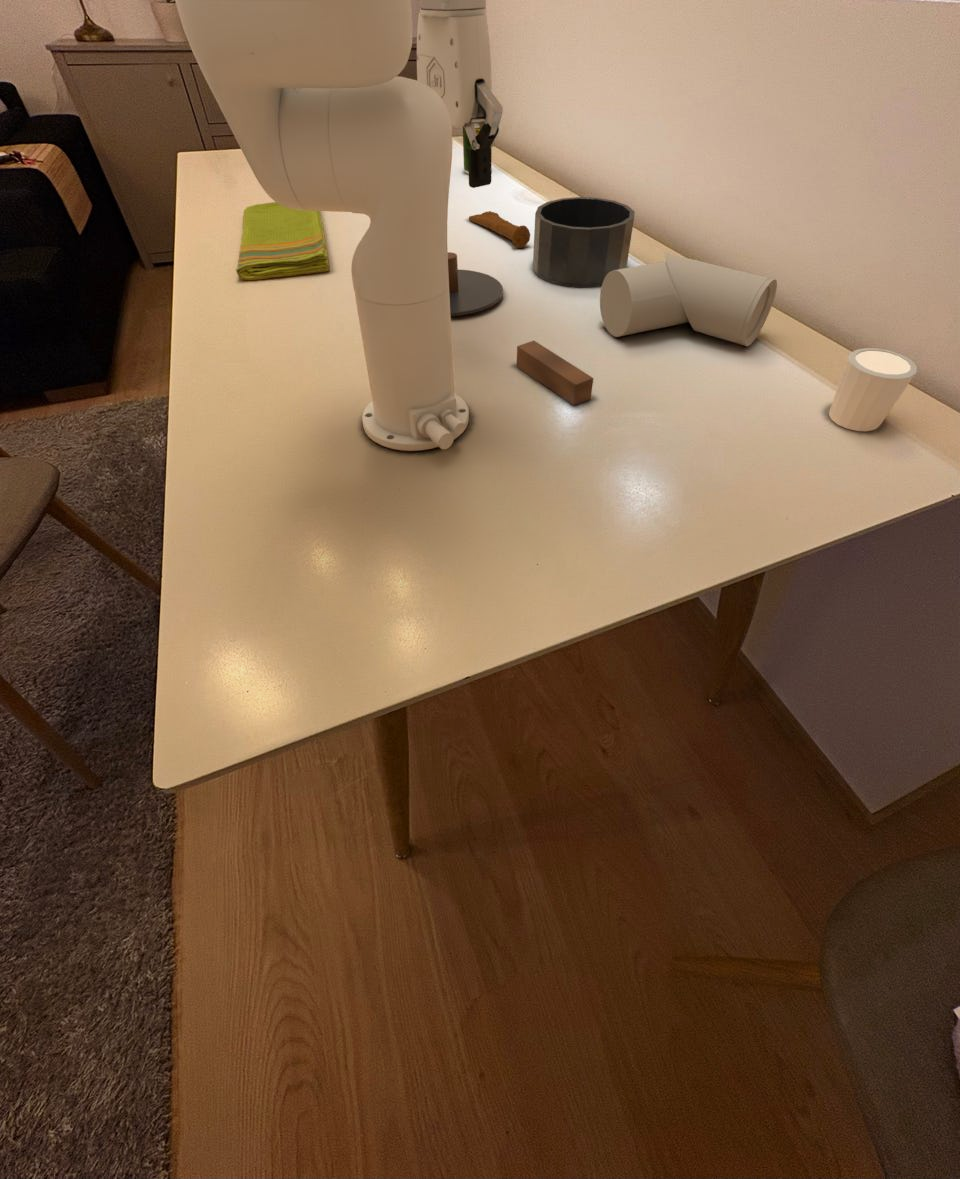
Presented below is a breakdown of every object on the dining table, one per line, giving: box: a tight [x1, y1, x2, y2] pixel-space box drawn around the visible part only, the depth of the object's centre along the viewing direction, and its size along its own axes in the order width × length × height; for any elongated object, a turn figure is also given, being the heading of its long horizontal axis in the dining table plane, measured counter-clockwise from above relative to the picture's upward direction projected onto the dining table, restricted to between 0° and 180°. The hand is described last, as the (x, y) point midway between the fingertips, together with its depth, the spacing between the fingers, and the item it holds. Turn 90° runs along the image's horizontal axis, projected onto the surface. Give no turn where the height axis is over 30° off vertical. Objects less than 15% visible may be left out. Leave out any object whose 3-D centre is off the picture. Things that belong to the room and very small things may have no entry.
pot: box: [532, 196, 636, 288], centre depth 99 cm, size 16×16×8 cm
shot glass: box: [828, 347, 918, 432], centre depth 68 cm, size 7×7×7 cm
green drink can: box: [462, 126, 481, 175], centre depth 138 cm, size 5×5×12 cm
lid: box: [448, 252, 504, 317], centre depth 93 cm, size 17×17×6 cm
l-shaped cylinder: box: [599, 252, 778, 347], centre depth 83 cm, size 18×10×20 cm
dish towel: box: [235, 201, 330, 281], centre depth 112 cm, size 15×36×3 cm, turn 13°
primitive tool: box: [468, 210, 531, 249], centre depth 114 cm, size 19×6×4 cm, turn 27°
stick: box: [516, 340, 594, 406], centre depth 76 cm, size 12×3×3 cm, turn 34°
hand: (458, 177), depth 80 cm, fingers open, 9 cm apart
